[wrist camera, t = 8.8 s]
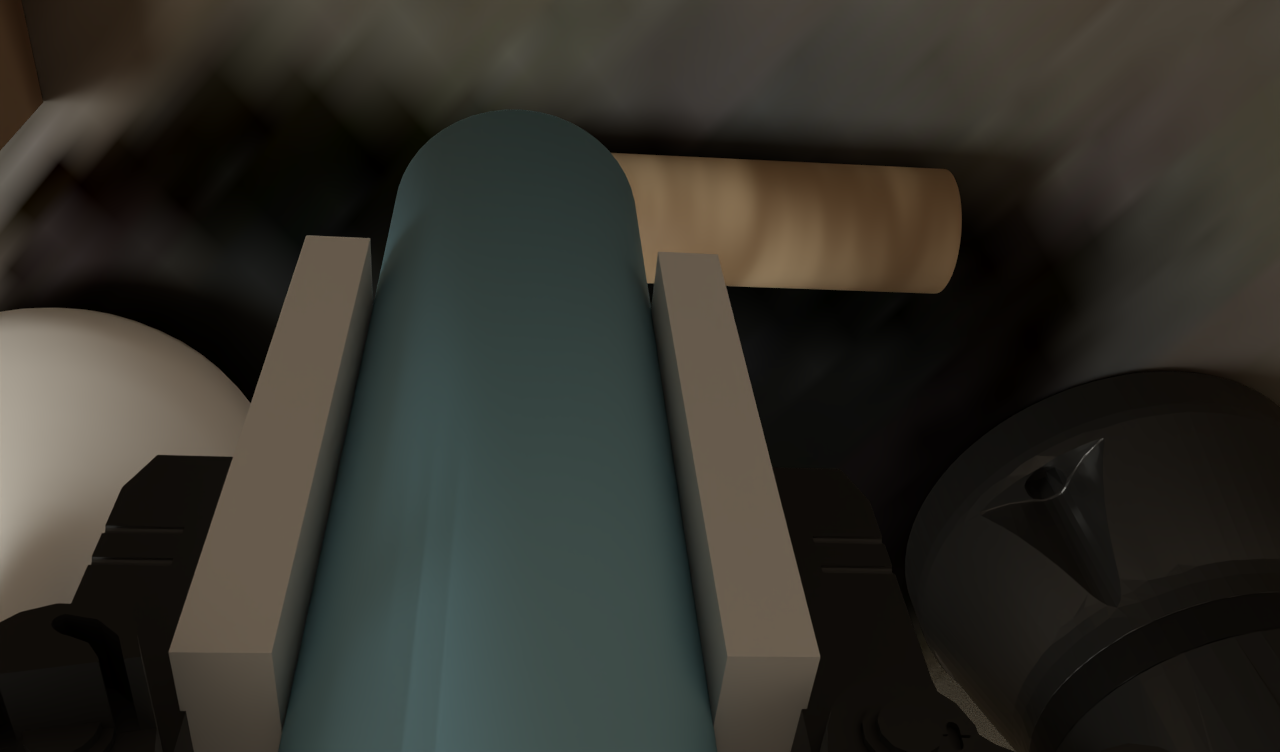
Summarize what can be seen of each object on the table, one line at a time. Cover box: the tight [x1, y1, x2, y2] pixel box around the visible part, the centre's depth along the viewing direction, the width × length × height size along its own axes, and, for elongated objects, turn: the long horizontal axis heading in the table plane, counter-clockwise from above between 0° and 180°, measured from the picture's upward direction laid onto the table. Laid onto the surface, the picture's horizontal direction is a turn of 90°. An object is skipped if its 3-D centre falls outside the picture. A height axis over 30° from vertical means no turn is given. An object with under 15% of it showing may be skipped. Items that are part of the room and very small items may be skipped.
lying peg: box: [611, 153, 962, 293], centre depth 34 cm, size 12×4×4 cm
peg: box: [278, 110, 717, 752], centre depth 12 cm, size 4×4×14 cm
